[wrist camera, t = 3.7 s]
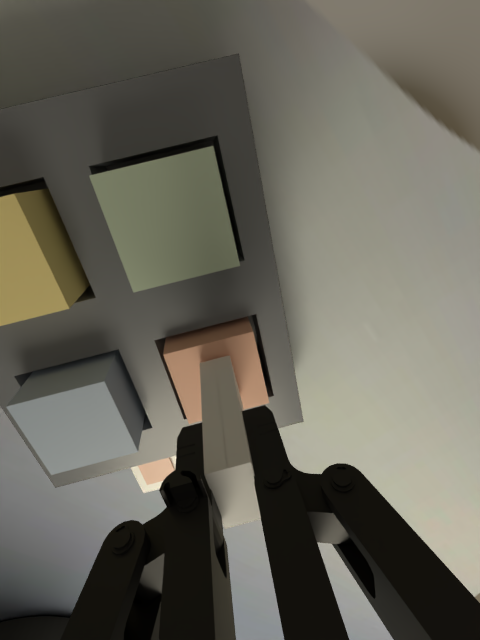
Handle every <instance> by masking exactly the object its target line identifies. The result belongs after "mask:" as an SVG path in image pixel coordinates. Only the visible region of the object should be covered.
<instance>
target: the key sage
mask: <svg viewBox="0 0 480 640" xmlns="http://www.w3.org/2000/svg"><path fill="white" fill-rule="evenodd" d="M89 177H90V180H91V182H92V185H93V188H94V190H95V193H96V196H97V198H98V201H99V203H100V206H101V209H102V211H103V214H104V217H105V219H106V222H107V224H108V227H109V230H110V232H111V235H112V238H113V240H114V243H115V245H116V248H117V251H118V253H119V256H120V259H121V261H122V264H123V267H124V269H125V272H126V274H127V277H128V280H129V282H130V285H131V288H132V290H133V293H134V292H138V291H142V290H146V289H150V288H154V287H158V286H162V285H166V284H170V283H174V282H178V281H182V280H186V279H190V278H194V277H198V276H201V275H205V274H209V273H213V272H217V271H221V270H225V269H229V268H233V267H237V266H240V263H239V259H238V254H237V250H236V245H235V241H234V236H233V232H232V227H231V223H230V218H229V214H228V209H227V205H226V201H225V196H224V192H223V187H222V183H221V178H220V174H219V169H218V165H217V160H216V156H215V151H214V147H213V146H210V147H206V148H202V149H198V150H194V151H190V152H186V153H181V154H177V155H173V156H169V157H165V158H161V159H156V160H152V161H148V162H144V163H140V164H136V165H131V166H127V167H123V168H119V169H115V170H111V171H107V172H102V173H98V174H94V175H90V176H89Z"/></svg>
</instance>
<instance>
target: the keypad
mask: <svg viewBox="0 0 480 640" xmlns="http://www.w3.org/2000/svg"><path fill="white" fill-rule="evenodd" d="M210 146H213V147H214V151H215V156H216V160H217V165H218V169H219V174H220V178H221V183H222V187H223V192H224V196H225V201H226V205H227V209H228V214H229V218H230V223H231V227H232V232H233V236H234V241H235V245H236V250H237V254H238V259H239V263H240V266H237V267H233V268H229V269H225V270H221V271H217V272H213V273H209V274H205V275H201V276H198V277H194V278H190V279H186V280H182V281H178V282H174V283H170V284H166V285H162V286H158V287H154V288H150V289H146V290H142V291H138V292H134V293H133V290H132V288H131V285H130V282H129V280H128V277H127V274H126V272H125V269H124V267H123V264H122V261H121V259H120V256H119V253H118V251H117V248H116V245H115V243H114V240H113V238H112V235H111V232H110V230H109V227H108V224H107V222H106V219H105V217H104V214H103V211H102V209H101V206H100V203H99V201H98V198H97V196H96V193H95V190H94V188H93V185H92V182H91V180H90V177H89V176H90V175H94V174H98V173H102V172H107V171H111V170H115V169H119V168H123V167H127V166H131V165H136V164H140V163H144V162H148V161H152V160H156V159H161V158H165V157H169V156H173V155H177V154H181V153H186V152H190V151H194V150H198V149H202V148H206V147H210ZM42 189H49V191H50V193H51V196H52V198H53V200H54V202H55V205H56V207H57V209H58V212H59V214H60V216H61V219H62V221H63V223H64V225H65V228H66V230H67V232H68V235H69V237H70V239H71V241H72V244H73V246H74V248H75V251H76V253H77V255H78V258H79V260H80V262H81V264H82V267H83V269H84V271H85V274H86V276H87V278H88V281H89V283H90V285H89V286H88V288H87V289H86V290H85V291H84V292H83V293H82V295H81V296H80V297H79V298H78V299H77V300H76V302H75V303H74V304H73V305H72V306H71V307H70V309H66V310H62V311H58V312H54V313H50V314H46V315H43V316H39V317H35V318H31V319H27V320H23V321H19V322H15V323H11V324H7V325H3V326H0V406H1V407H2V409H3V410H4V412H5V413H6V415H7V416H8V418H9V419H10V421H11V422H12V424H13V425H14V427H15V428H16V430H17V431H18V433H19V434H20V436H21V437H22V439H23V440H24V442H25V443H26V445H27V446H28V448H29V449H30V451H31V452H32V454H33V455H34V457H35V458H36V460H37V461H38V463H39V464H40V466H41V467H42V469H43V470H44V472H45V473H46V475H47V476H48V478H49V479H50V480H51V482H52V483H53V485H54V486H55V488H56V487H60V486H64V485H67V484H71V483H75V482H79V481H82V480H86V479H90V478H94V477H97V476H101V475H105V474H109V473H112V472H116V471H120V470H124V469H127V468H131V467H135V466H139V465H142V464H146V463H150V462H154V461H157V460H161V459H165V458H169V457H172V456H176V450H177V437H178V435H179V433H180V431H181V429H182V428H183V427H186V426H190V425H194V424H198V423H202V421H199V422H195V423H192V424H189V423H188V420H187V417H186V415H185V412H184V409H183V407H182V404H181V401H180V399H179V396H178V393H177V390H176V388H175V385H174V382H173V380H172V377H171V374H170V372H169V369H168V366H167V363H166V361H165V358H164V355H163V353H164V346H165V339H166V337H169V336H173V335H177V334H181V333H185V332H189V331H192V330H196V329H200V328H204V327H208V326H212V325H216V324H220V323H224V322H228V321H231V320H235V319H239V318H243V317H247V316H248V319H249V322H250V324H251V327H252V330H253V333H254V337H255V341H256V346H257V350H258V355H259V359H260V363H261V368H262V372H263V377H264V381H265V386H266V390H267V394H268V399H269V403H267V404H264V405H265V406H267V407H268V408H269V409H270V410H271V411H272V412H273V415H274V418H275V421H276V424H277V427H278V428H281V427H285V426H289V425H292V424H296V423H300V422H304V421H303V416H302V410H301V404H300V399H299V393H298V387H297V382H296V376H295V370H294V365H293V359H292V353H291V347H290V342H289V336H288V330H287V325H286V319H285V313H284V308H283V302H282V296H281V291H280V285H279V279H278V274H277V268H276V262H275V257H274V251H273V245H272V240H271V234H270V228H269V222H268V217H267V211H266V205H265V200H264V194H263V188H262V183H261V177H260V171H259V166H258V160H257V154H256V149H255V143H254V137H253V132H252V126H251V120H250V115H249V109H248V103H247V98H246V92H245V86H244V80H243V75H242V69H241V63H240V58H239V54H235V55H231V56H226V57H222V58H218V59H213V60H209V61H205V62H201V63H196V64H192V65H188V66H183V67H179V68H175V69H170V70H166V71H162V72H158V73H153V74H149V75H145V76H140V77H136V78H132V79H128V80H123V81H119V82H115V83H110V84H106V85H102V86H97V87H93V88H89V89H85V90H80V91H76V92H72V93H67V94H63V95H59V96H55V97H50V98H46V99H42V100H37V101H33V102H29V103H24V104H20V105H16V106H12V107H7V108H3V109H0V197H3V196H7V195H11V194H15V193H22V192H29V191H35V190H42ZM118 349H119V352H120V354H121V356H122V359H123V361H124V363H125V365H126V368H127V370H128V372H129V375H130V377H131V379H132V382H133V384H134V386H135V388H136V391H137V393H138V395H139V398H140V400H141V402H142V405H143V407H144V409H145V411H146V412H145V418H144V423H143V429H142V434H141V439H140V445H139V450H138V452H136V453H133V454H129V455H125V456H121V457H118V458H114V459H110V460H106V461H102V462H99V463H95V464H91V465H87V466H84V467H80V468H76V469H72V470H69V471H65V472H61V473H57V474H54V475H51V474H50V472H49V471H48V469H47V468H46V466H45V465H44V463H43V462H42V460H41V459H40V457H39V456H38V454H37V453H36V451H35V450H34V448H33V447H32V445H31V444H30V442H29V441H28V439H27V438H26V436H25V435H24V433H23V432H22V430H21V429H20V427H19V426H18V424H17V423H16V421H15V420H14V418H13V416H12V415H11V413H10V412H9V410H8V409H7V407H6V406H7V405H8V404H9V402H10V401H11V400H12V398H13V397H14V396H15V394H16V393H17V392H18V391H19V389H20V388H21V387H22V385H23V384H24V383H25V381H26V380H27V379H28V378H29V376H30V375H31V374H32V372H33V371H36V370H40V369H44V368H48V367H52V366H56V365H60V364H64V363H68V362H71V361H75V360H79V359H83V358H87V357H91V356H95V355H99V354H103V353H107V352H110V351H114V350H118ZM260 406H263V405H260ZM256 407H259V406H256ZM256 407H252V408H256ZM252 408H248V409H252ZM248 409H245V410H248Z"/></svg>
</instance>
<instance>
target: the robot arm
mask: <svg viewBox="0 0 480 640" xmlns="http://www.w3.org/2000/svg"><path fill="white" fill-rule="evenodd" d="M200 383H201V407H202V423H198V424H194V425H190V426H186V427H183V428H182V429H181V431H180V433H179V435H178V437H177V450H176V468H175V471H173V472H172V473H170V474H169V475H168V476H167V477H166V478H165V479H164V481H163V482H162V484H161V487H160V490H159V491H160V493H161V495H162V498H163V500H164V502H165V504H166V506H167V508H166V509H165V510H164V511H163V512H162V513H160V514H159V515H158V516H156V517H155V518H153V519H151V520H150V521H148V522H146V523H145V524H143V525H142V524H141V523H140V522H139V521H134V520H130V521H126V522H123V523H121V524H119V525H118V526H116V527H115V528H114V529H113V530H112V531H111V532H110V533H109V534H108V535H107V537H106V539H105V540H104V542H103V544H102V546H101V549H100V551H99V553H98V555H97V558H96V560H95V562H94V565H93V567H92V569H91V571H90V574H89V576H88V578H87V580H86V583H85V585H84V587H83V589H82V592H81V594H80V596H79V598H78V601H77V603H76V605H75V607H74V610H73V612H72V614H71V617H70V618H66V617H52V616H40V617H26V618H19V619H13V620H8V621H4V622H0V640H158V639H159V640H236V636H235V625H234V615H233V605H232V594H231V584H230V573H229V563H228V552H227V545H226V541H225V538H224V536H223V527H222V523H223V525H224V528H225V529H226V528H230V527H233V526H237V525H241V524H244V523H248V522H252V521H255V520H259V519H261V521H262V526H263V531H264V537H265V542H266V547H267V552H268V557H269V562H270V567H271V573H272V578H273V583H274V588H275V593H276V598H277V603H278V608H279V614H280V619H281V624H282V629H283V634H284V639H285V640H349V638H348V635H347V632H346V629H345V626H344V623H343V620H342V617H341V614H340V610H339V607H338V604H337V601H336V598H335V595H334V592H333V589H332V586H331V583H330V580H329V577H328V574H327V571H326V568H325V565H324V562H323V559H322V556H321V553H320V550H319V547H318V544H317V542H320V543H331V544H332V545H333V546H334V548H335V549H336V551H337V552H338V554H339V555H340V557H341V558H342V560H343V562H344V563H345V565H346V566H347V568H348V569H349V571H350V572H351V574H352V576H353V577H354V579H355V580H356V582H357V583H358V585H359V586H360V588H361V590H362V591H363V593H364V594H365V596H366V597H367V599H368V600H369V602H370V604H371V605H372V607H373V608H374V610H375V611H376V613H377V614H378V616H379V617H380V619H381V621H382V622H383V624H384V625H385V627H386V628H387V630H388V631H389V633H390V635H391V636H392V638H393V639H394V640H480V603H479V602H478V601H477V600H476V599H475V597H474V596H473V595H472V594H471V593H470V592H469V591H468V590H467V589H466V588H465V586H464V585H463V584H462V583H461V582H460V581H459V580H458V579H457V578H456V577H455V575H454V574H453V573H452V572H451V571H450V570H449V569H448V568H447V567H446V565H445V564H444V563H443V562H442V561H441V560H440V559H439V558H438V557H437V556H436V554H435V553H434V552H433V551H432V550H431V549H430V548H429V547H428V546H427V545H426V543H425V542H424V541H423V540H422V539H421V538H420V537H419V536H418V535H417V534H416V532H415V531H414V530H413V529H412V528H411V527H410V526H409V525H408V524H407V522H406V521H405V520H404V519H403V518H402V517H401V516H400V515H399V514H398V513H397V511H396V510H395V509H394V508H393V507H392V506H391V505H390V504H389V503H388V502H387V500H386V499H385V498H384V497H383V496H382V495H381V494H380V493H379V492H378V491H377V489H376V488H375V487H374V486H373V485H372V484H371V483H370V482H369V481H368V480H367V478H366V477H365V476H364V475H363V474H362V473H361V472H360V471H359V470H358V469H356V468H355V467H353V466H351V465H348V464H334V465H331V466H329V467H328V468H326V469H325V470H324V471H323V473H322V474H308V473H303V472H301V471H298V470H297V469H295V468H294V467H293V466H292V465H291V464H290V462H289V460H288V457H287V454H286V451H285V448H284V445H283V442H282V439H281V436H280V433H279V430H278V427H277V424H276V421H275V418H274V415H273V412H272V411H271V410H270V409H269V408H268V407H267V406H265V405H263V406H259V407H256V408H252V409H248V410H244V409H243V404H242V399H241V396H240V392H239V388H238V385H237V381H236V377H235V373H234V370H233V366H232V362H231V359H230V355H228V356H224V357H221V358H217V359H213V360H209V361H205V362H201V363H200Z"/></svg>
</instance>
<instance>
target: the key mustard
mask: <svg viewBox="0 0 480 640" xmlns="http://www.w3.org/2000/svg"><path fill="white" fill-rule="evenodd" d="M89 285H90V283H89V281H88V278H87V276H86V274H85V271H84V269H83V267H82V264H81V262H80V260H79V258H78V255H77V253H76V251H75V248H74V246H73V244H72V241H71V239H70V237H69V235H68V232H67V230H66V228H65V225H64V223H63V221H62V219H61V216H60V214H59V212H58V209H57V207H56V205H55V202H54V200H53V198H52V196H51V193H50V191H49V189H42V190H35V191H29V192H22V193H15V194H11V195H7V196H3V197H0V326H3V325H7V324H11V323H15V322H19V321H23V320H27V319H31V318H35V317H39V316H43V315H46V314H50V313H54V312H58V311H62V310H66V309H70V307H71V306H72V305H73V304H74V303H75V302H76V300H77V299H78V298H79V297H80V296H81V295H82V293H83V292H84V291H85V290H86V289H87V288H88V286H89Z"/></svg>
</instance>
